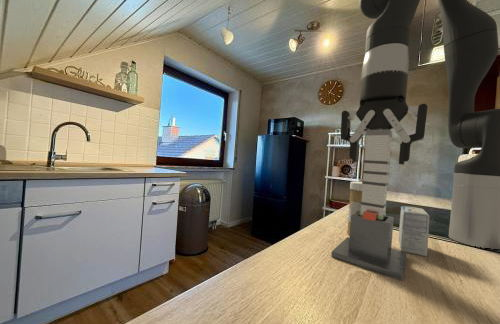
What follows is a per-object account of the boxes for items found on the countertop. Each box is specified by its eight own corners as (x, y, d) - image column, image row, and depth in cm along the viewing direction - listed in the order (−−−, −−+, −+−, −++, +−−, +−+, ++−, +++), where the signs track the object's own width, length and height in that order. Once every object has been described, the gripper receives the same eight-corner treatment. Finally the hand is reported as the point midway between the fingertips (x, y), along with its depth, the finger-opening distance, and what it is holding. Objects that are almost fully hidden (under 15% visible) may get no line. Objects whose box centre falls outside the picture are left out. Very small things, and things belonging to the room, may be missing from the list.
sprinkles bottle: (351, 230, 57) (355, 180, 57) (369, 236, 53) (373, 183, 53) (343, 233, 54) (347, 181, 54) (361, 240, 50) (366, 183, 50)
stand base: (347, 241, 49) (350, 201, 49) (406, 257, 42) (410, 211, 42) (331, 256, 40) (334, 208, 40) (402, 280, 33) (406, 222, 33)
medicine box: (427, 257, 43) (430, 215, 43) (400, 251, 45) (403, 210, 45) (421, 245, 50) (424, 208, 49) (397, 240, 52) (400, 205, 52)
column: (363, 215, 44) (370, 132, 43) (385, 219, 41) (392, 132, 41) (359, 218, 41) (366, 130, 40) (382, 223, 38) (390, 129, 38)
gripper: (432, 76, 39) (425, 166, 39) (348, 88, 48) (343, 161, 48) (434, 59, 33) (425, 165, 33) (338, 77, 42) (332, 160, 42)
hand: (376, 162), depth 41 cm, fingers open, 7 cm apart
